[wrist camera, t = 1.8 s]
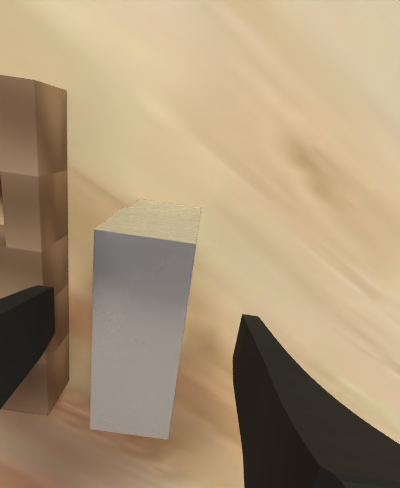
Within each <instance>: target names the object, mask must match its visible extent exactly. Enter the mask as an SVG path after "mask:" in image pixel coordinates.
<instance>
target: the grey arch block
mask: <svg viewBox="0 0 400 488" xmlns="http://www.w3.org/2000/svg"><path fill="white" fill-rule="evenodd" d="M200 214H201V207H194V206H187V205H180V204H173V203H166V202H159V201H152V200H145V199H139V200H138V201H136V202H135V203H134V204H133V205H132V206H131V207H129V208H125V207H122V208H121V209H120V210H118V211H117V212H116V213H115V214H113V215H112V216H111V217H109V218H108V219H107V220H106V221H104V222H103V223H102V224H100V225H99V226H98V227H97V228H95V229H94V260H93V306H92V352H91V399H90V429H92V430H99V431H107V432H114V433H121V434H129V435H136V436H144V437H151V438H159V439H166V440H168V437H169V430H170V423H171V416H172V409H173V402H174V395H175V388H176V381H177V374H178V367H179V360H180V353H181V347H182V340H183V333H184V326H185V319H186V312H187V305H188V298H189V291H190V284H191V277H192V270H193V263H194V256H195V249H196V242H197V235H198V228H199V221H200Z"/></svg>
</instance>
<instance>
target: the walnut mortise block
mask: <svg viewBox="0 0 400 488" xmlns="http://www.w3.org/2000/svg"><path fill="white" fill-rule="evenodd" d="M0 176H1V188H2V200H3V212H4V225H0V299H1V298H4V297H6V296H9V295H11V294H14V293H16V292H19V291H22V290H24V289H27V288H30V287H33V286H37V285H41V286H48V287H54V303H55V334H54V336H53V338H52V340H51V341H50V343H49V345H48V347H47V348H46V350H45V351H44V353H43V355H42V356H41V358H40V359H39V360H38V362H37V363H36V364H35V366H34V367H33V368H32V369H31V371H30V372H29V373H28V375H27V376H26V377H25V379H24V380H23V381H22V382H21V384H20V385H19V386H18V387H17V389H16V390H15V391H14V393H13V394H12V395H11V396H10V398H9V399H8V400H7V401H6V403H5V404H4V405H3V407H2V408H1V409H5V410H12V411H20V412H27V413H34V414H42V415H49V413H50V411H51V410H52V408H53V406H54V404H55V403H56V401H57V399H58V398H59V396H60V394H61V393H62V391H63V389H64V387H65V386H66V384H67V382H68V381H69V320H68V213H67V105H66V90H63V89H60V88H57V87H54V86H51V85H48V84H45V83H42V82H39V81H36V80H30V79H24V78H17V77H10V76H4V75H0Z"/></svg>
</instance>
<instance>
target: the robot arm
mask: <svg viewBox="0 0 400 488" xmlns="http://www.w3.org/2000/svg"><path fill="white" fill-rule="evenodd" d="M54 334H55V303H54V287H48V286H41V285H37V286H33V287H30V288H27V289H24V290H22V291H19V292H16V293H14V294H11V295H9V296H6V297H4V298H1V299H0V409H1V408H2V407H3V405H4V404H5V403H6V401H7V400H8V399H9V398H10V396H11V395H12V394H13V393H14V391H15V390H16V389H17V387H18V386H19V385H20V384H21V382H22V381H23V380H24V379H25V377H26V376H27V375H28V373H29V372H30V371H31V369H32V368H33V367H34V366H35V364H36V363H37V362H38V360H39V359H40V358H41V356H42V355H43V353H44V351H45V350H46V348H47V347H48V345H49V343H50V341H51V340H52V338H53V336H54ZM233 385H234V392H235V400H236V407H237V414H238V421H239V428H240V435H241V442H242V451H243V465H244V485H245V488H400V444H398V443H397V442H395V441H394V440H392V439H391V438H389V437H388V436H386V435H385V434H383V433H382V432H380V431H379V430H377V429H376V428H374V427H373V426H371V425H370V424H368V423H367V422H365V421H364V420H363V419H361V418H360V417H358V416H357V415H356V414H354V413H353V412H352V411H350V410H349V409H348V408H347V407H345V406H344V405H343V404H341V403H340V402H339V401H338V400H336V399H335V398H334V397H333V396H332V395H330V394H329V393H328V392H327V391H326V390H325V389H323V388H322V387H321V386H320V385H319V384H318V383H317V382H316V381H315V380H313V379H312V378H311V377H310V376H309V375H308V374H307V373H306V372H305V371H304V370H303V369H302V368H301V367H300V366H299V365H298V363H297V362H296V361H295V360H294V359H293V358H292V357H291V356H290V355H289V354H288V353H287V351H286V350H285V349H284V348H283V347H282V346H281V344H280V343H279V342H278V341H277V340H276V338H275V337H274V336H273V335H272V333H271V332H270V331H269V330H268V328H267V327H266V326H265V324H264V323H263V322H262V321H261V319H260V318H259V317H258V316H251V315H244V314H242V318H241V322H240V327H239V331H238V336H237V341H236V345H235V350H234V355H233Z"/></svg>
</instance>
